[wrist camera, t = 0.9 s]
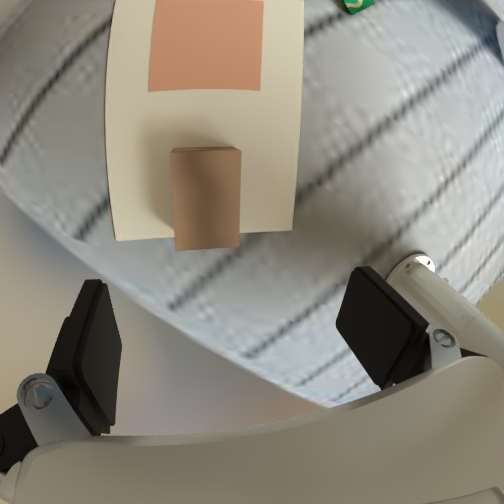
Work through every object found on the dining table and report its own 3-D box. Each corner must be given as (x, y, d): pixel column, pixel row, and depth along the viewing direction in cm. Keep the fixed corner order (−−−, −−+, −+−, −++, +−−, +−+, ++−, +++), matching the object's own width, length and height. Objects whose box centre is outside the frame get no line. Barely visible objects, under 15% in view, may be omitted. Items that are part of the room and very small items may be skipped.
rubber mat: (302, 0, 20) (304, -2, 20) (291, 229, 32) (292, 230, 32) (117, -4, 16) (116, -5, 15) (116, 240, 28) (116, 241, 28)
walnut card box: (233, 146, 26) (241, 150, 22) (231, 229, 30) (239, 246, 26) (173, 148, 25) (170, 152, 21) (177, 232, 29) (175, 250, 25)
